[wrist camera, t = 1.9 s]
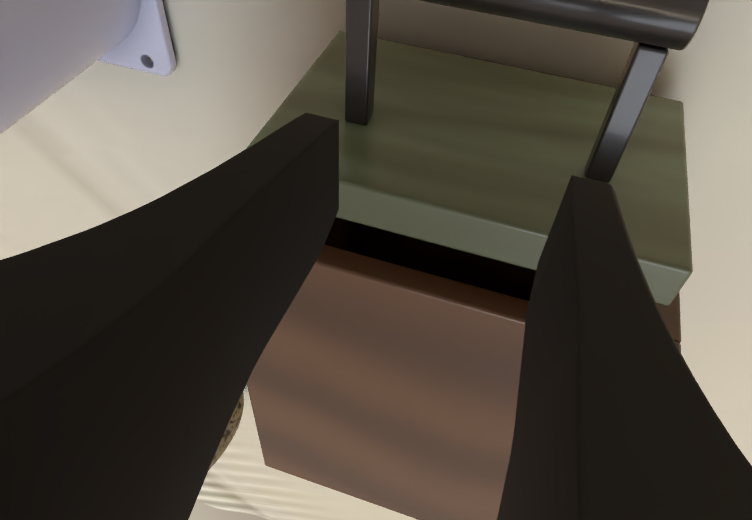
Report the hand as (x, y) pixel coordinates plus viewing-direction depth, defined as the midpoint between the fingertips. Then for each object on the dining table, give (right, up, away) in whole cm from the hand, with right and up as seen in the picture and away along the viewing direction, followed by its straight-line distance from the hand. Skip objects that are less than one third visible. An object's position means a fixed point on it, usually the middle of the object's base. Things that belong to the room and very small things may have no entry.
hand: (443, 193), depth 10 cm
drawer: (+2, +2, +10) cm, 11 cm away
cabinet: (+2, -1, +14) cm, 15 cm away
